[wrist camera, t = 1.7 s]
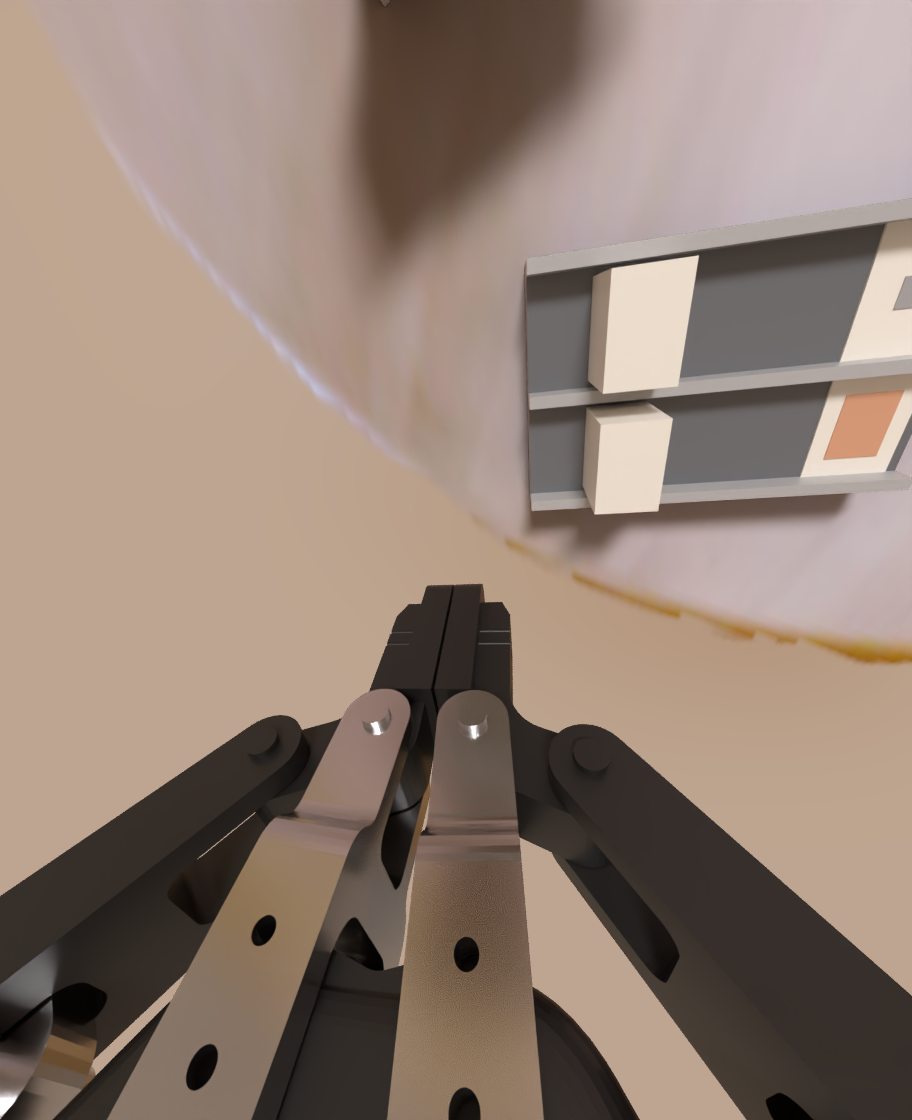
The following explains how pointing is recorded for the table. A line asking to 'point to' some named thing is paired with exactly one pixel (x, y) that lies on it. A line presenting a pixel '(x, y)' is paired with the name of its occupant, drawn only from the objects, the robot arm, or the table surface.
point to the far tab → (625, 457)
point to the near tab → (640, 325)
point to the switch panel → (745, 359)
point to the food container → (385, 2)
